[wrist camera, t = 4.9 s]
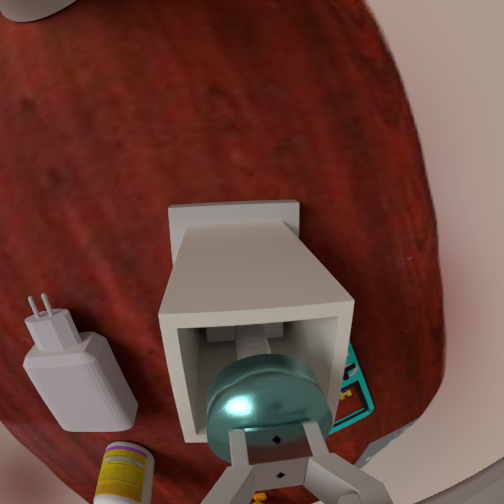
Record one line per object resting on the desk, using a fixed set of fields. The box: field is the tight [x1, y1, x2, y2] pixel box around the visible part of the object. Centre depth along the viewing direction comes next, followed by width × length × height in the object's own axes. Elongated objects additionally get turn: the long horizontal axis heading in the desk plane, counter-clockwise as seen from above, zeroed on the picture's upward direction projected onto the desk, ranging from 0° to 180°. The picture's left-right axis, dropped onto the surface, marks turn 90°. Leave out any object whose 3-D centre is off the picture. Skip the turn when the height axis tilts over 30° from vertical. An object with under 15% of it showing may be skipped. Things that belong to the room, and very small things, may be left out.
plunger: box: [206, 322, 333, 464], centre depth 15 cm, size 5×5×12 cm
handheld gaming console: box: [329, 341, 374, 434], centre depth 33 cm, size 8×1×15 cm
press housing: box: [158, 200, 355, 443], centre depth 20 cm, size 10×10×16 cm
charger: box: [23, 293, 138, 432], centre depth 26 cm, size 5×9×15 cm
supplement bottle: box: [94, 441, 155, 504], centre depth 27 cm, size 7×7×13 cm
